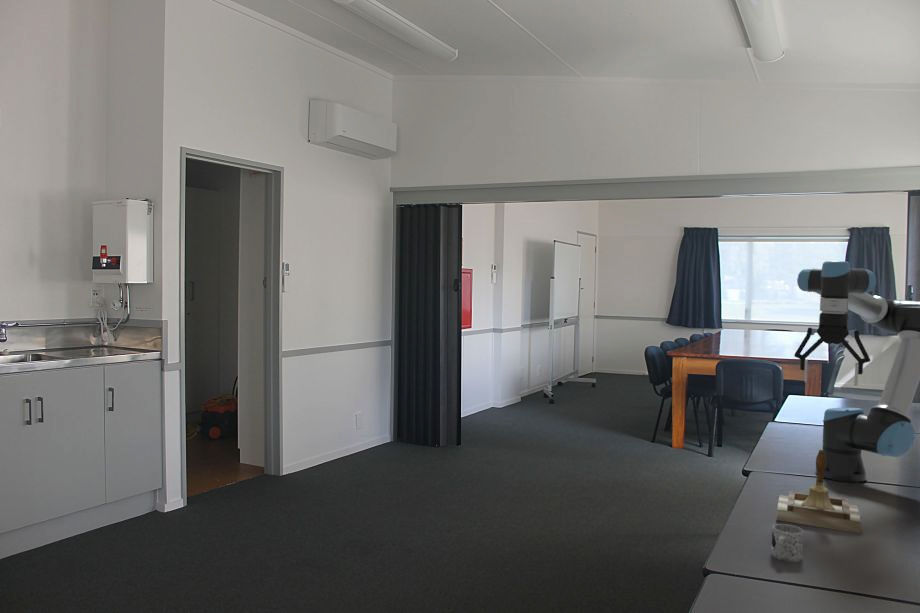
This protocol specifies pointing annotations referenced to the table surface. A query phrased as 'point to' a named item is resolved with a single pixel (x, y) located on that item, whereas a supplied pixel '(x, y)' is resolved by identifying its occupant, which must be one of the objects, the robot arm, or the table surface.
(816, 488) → the hand bell
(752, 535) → the table surface
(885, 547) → the table surface
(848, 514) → the stand
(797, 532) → the mug
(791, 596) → the table surface
